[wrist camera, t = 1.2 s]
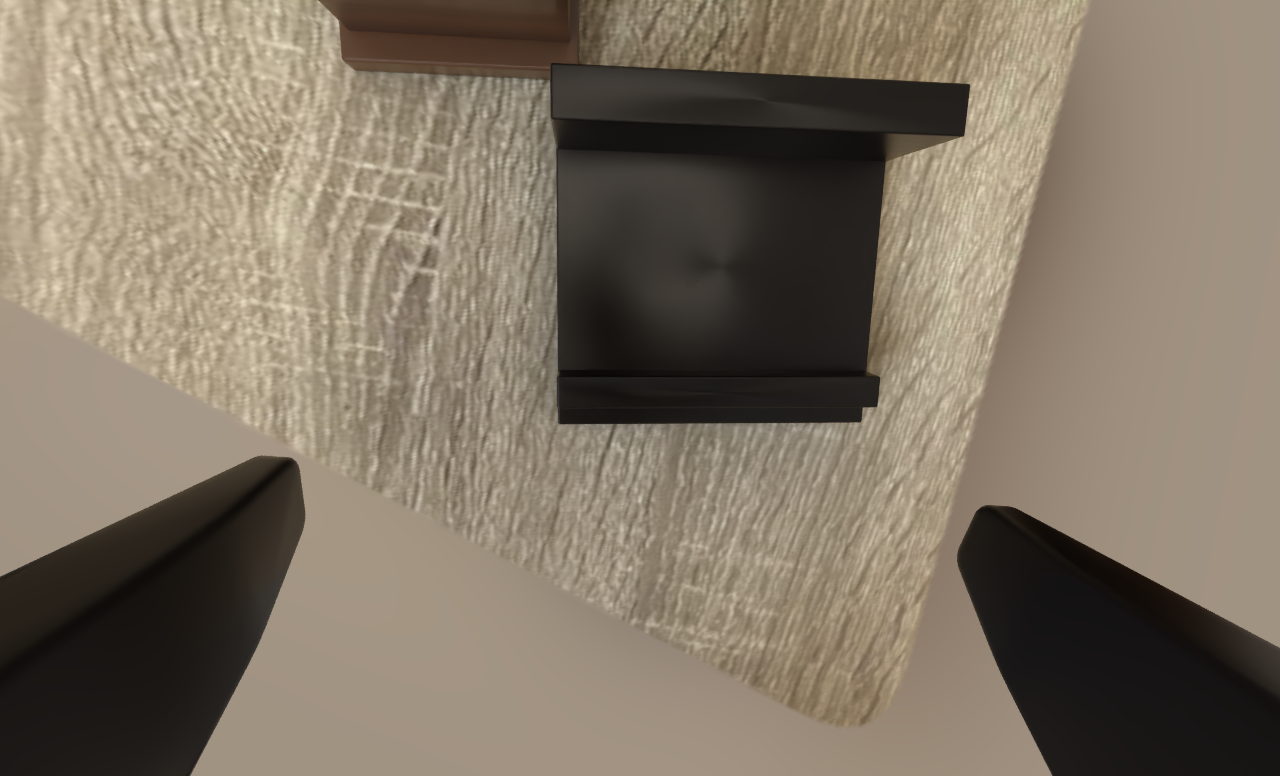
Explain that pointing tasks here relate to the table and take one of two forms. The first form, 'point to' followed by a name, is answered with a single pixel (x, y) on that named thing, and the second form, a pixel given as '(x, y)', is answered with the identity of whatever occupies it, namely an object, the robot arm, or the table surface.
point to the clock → (458, 36)
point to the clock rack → (724, 238)
